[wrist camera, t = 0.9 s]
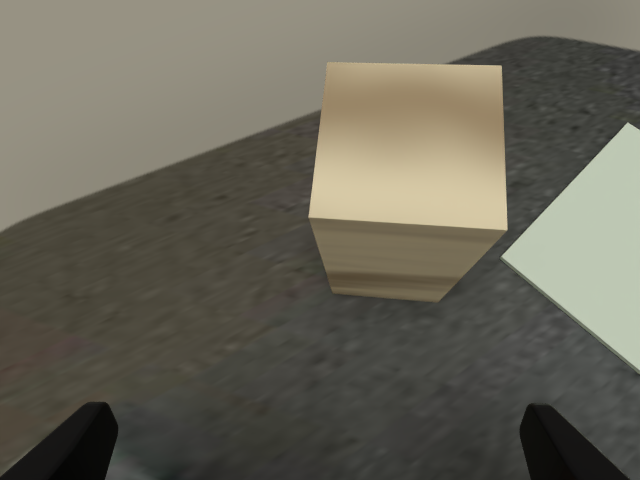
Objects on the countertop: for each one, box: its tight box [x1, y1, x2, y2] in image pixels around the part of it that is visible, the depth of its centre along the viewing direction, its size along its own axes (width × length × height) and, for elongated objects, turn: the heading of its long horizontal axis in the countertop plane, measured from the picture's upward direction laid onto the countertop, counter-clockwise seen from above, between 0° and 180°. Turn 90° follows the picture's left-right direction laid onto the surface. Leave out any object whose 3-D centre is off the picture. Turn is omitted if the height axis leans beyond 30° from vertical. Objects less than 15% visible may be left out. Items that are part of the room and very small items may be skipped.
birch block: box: [309, 62, 507, 302], centre depth 20 cm, size 6×6×12 cm
